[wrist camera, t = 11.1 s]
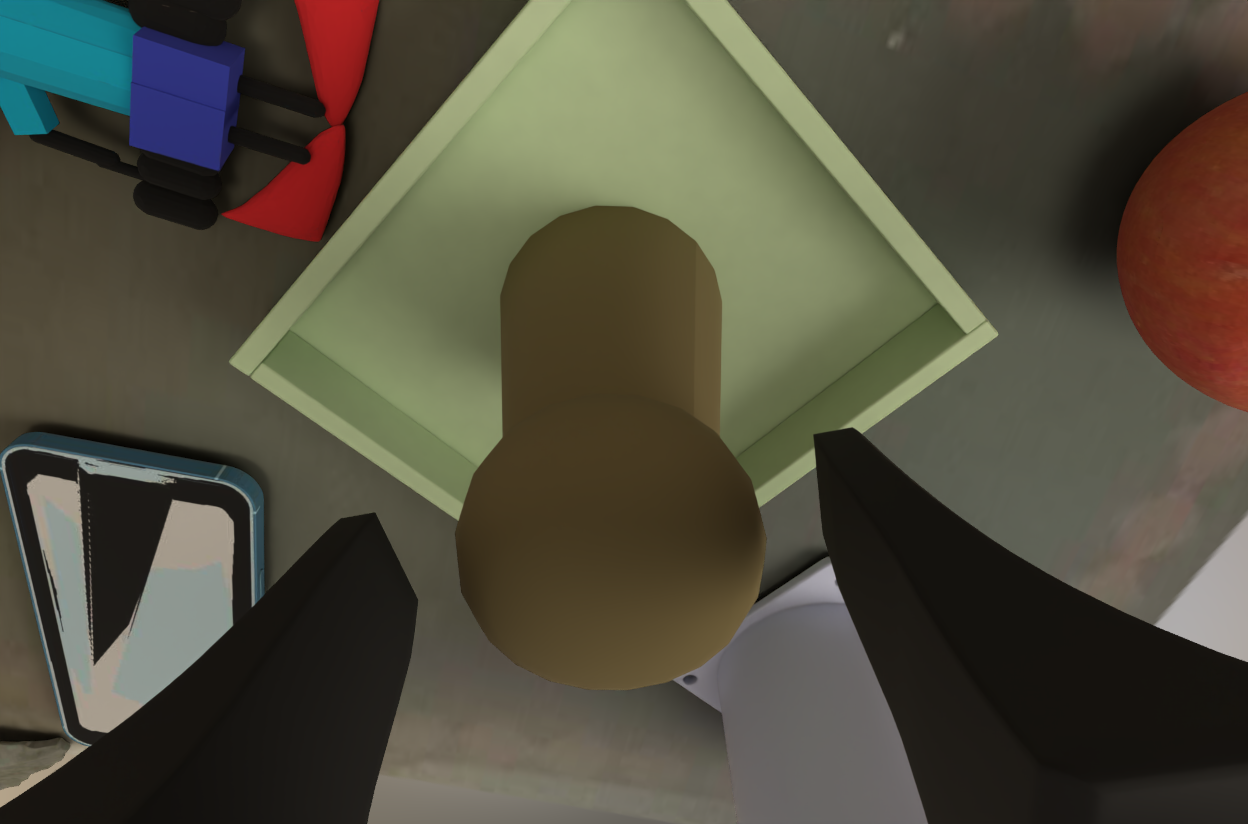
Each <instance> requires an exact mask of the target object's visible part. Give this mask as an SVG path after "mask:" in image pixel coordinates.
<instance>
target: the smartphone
mask: <svg viewBox="0 0 1248 824" xmlns="http://www.w3.org/2000/svg"><path fill="white" fill-rule="evenodd" d="M0 473H1V477H2V481H3V485H4V489H5V493H6V497H7V501H8V505H9V510H10V514H11V518H12V522H13V526H14V530H15V534H16V538H17V543H18V547H19V551H20V555H21V559H22V563H23V567H24V571H25V576H26V580H27V584H28V588H29V592H30V596H31V600H32V604H33V609H34V613H35V617H36V621H37V625H38V629H39V633H40V637H41V641H42V646H43V650H44V654H45V658H46V662H47V666H48V670H49V674H50V679H51V683H52V687H53V691H54V695H55V699H56V703H57V707H58V712H59V716H60V720H61V724H62V728H63V730H64V732H65V733H66V735H67V736H68V737H70V738H71V739H72V740H74V741H76V742H78V743H80V744H82V745H85V746H91V745H92V744H93V743H95V742H96V741H98V740H99V739H100V738H102V737H103V736H104V735H106V734H107V733H108V732H110V731H111V730H113V729H114V728H115V727H117V726H118V725H119V724H121V723H122V722H123V721H125V720H126V719H127V718H129V717H130V716H131V715H132V714H134V713H135V712H136V711H137V710H139V709H140V708H141V707H142V706H144V705H145V704H146V703H147V702H148V701H150V700H151V699H152V698H153V697H154V696H156V695H157V694H158V693H159V692H161V691H162V690H163V689H164V688H165V687H167V686H168V685H169V684H170V683H171V682H173V681H174V680H175V679H176V678H177V677H178V676H179V675H181V674H182V673H183V672H184V671H185V670H186V669H187V668H189V667H190V666H191V665H192V664H193V663H194V662H195V661H196V660H197V659H199V658H200V657H201V656H202V655H203V654H204V653H205V652H206V651H207V650H208V649H209V648H210V647H211V646H212V645H213V644H214V643H215V642H216V641H217V640H219V639H220V638H221V637H222V636H223V635H224V634H225V633H226V632H227V631H228V630H229V629H230V628H231V627H232V626H233V625H234V624H235V623H236V622H237V621H238V620H239V619H241V618H242V617H243V616H244V615H245V614H246V613H247V612H248V611H249V610H250V609H251V608H252V607H253V606H254V605H255V604H256V603H257V602H258V601H259V600H260V599H261V598H262V597H263V596H264V497H263V492H262V490H261V488H260V486H259V484H258V483H257V482H256V481H255V480H254V479H253V478H252V477H251V476H250V475H248V474H247V473H245V472H243V471H241V470H240V469H237V468H234V467H231V466H227V465H221V464H215V463H210V462H204V461H199V460H193V459H188V458H182V457H177V456H171V455H166V454H160V453H155V452H149V451H144V450H138V449H133V448H127V447H122V446H116V445H111V444H105V443H100V442H94V441H89V440H83V439H77V438H72V437H66V436H61V435H55V434H50V433H44V432H30V433H26V434H23V435H21V436H19V437H18V438H17V439H15V440H14V441H13V442H12V443H11V444H10V445H9V446H8V447H6V448H5V449H4V450H3V451H2V453H1V454H0Z"/></svg>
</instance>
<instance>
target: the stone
mask: <svg viewBox="0 0 1248 824" xmlns="http://www.w3.org/2000/svg"><path fill="white" fill-rule="evenodd" d="M69 748H70V743H69V742H66V741H65V740H64V739H63V738H55V739H51V740H43V741H20V742H7V741H0V790H2V789H4V788H8V787H14V786H19V785H20V783H21V782H22V781H24V780H26V779H28V777H29V776H30V775H31V774H33V773H35V772H38V771H41V770H44V769H48V768H50V767H51V766H53V765H54V764H55V763H56V762H59V761H61V760H62V759H63V758H64V756H65V752H67V751H68V750H69Z"/></svg>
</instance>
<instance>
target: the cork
mask: <svg viewBox="0 0 1248 824" xmlns="http://www.w3.org/2000/svg"><path fill="white" fill-rule="evenodd" d="M500 318H501V377H502V437H503V438H502V439H501V440H500V441H499V442H498V443H497V445H496V446H495V447H494V448H493V449H492V451H491V452H490V453H489V454H488V455H487V457H486V458H485V459H484V461H483V462H482V463H481V464H480V466H479V467H478V468H477V470H476V471H475V472H474V474H473V476H472V479H471V482H470V486H469V489H468V492H467V495H466V498H465V501H464V504H463V507H462V510H461V514H460V517H459V521H458V524H457V528H456V531H455V537H456V547H457V557H458V567H459V576H460V586H461V593H462V595H463V597H464V598H465V600H466V602H467V604H468V606H469V607H470V609H471V611H472V613H473V615H474V617H475V618H476V620H477V622H478V624H479V625H480V627H481V629H482V630H483V632H484V633H485V635H486V636H487V638H488V640H489V641H490V642H491V643H492V644H493V645H494V646H496V647H497V648H498V649H499V650H500V651H501V652H502V653H503V654H504V655H506V656H507V657H508V658H509V659H510V660H511V661H512V662H513V663H515V664H516V665H518V666H520V667H522V668H524V669H526V670H528V671H530V672H532V673H534V674H536V675H538V676H540V677H542V678H544V679H546V680H548V681H552V682H556V683H561V684H565V685H570V686H574V687H578V688H583V689H587V690H631V689H636V688H641V687H646V686H651V685H656V684H661V683H666V682H668V681H671V680H673V679H675V678H677V677H679V676H682V675H684V674H686V673H688V672H691V671H693V670H695V669H697V668H699V667H701V666H703V665H704V664H705V663H706V662H708V661H709V660H710V659H711V658H712V657H714V656H715V655H716V654H717V653H718V652H720V651H721V650H722V649H723V648H725V647H726V646H727V645H728V644H729V643H730V641H731V639H732V638H733V636H734V635H735V633H736V632H737V630H738V628H739V627H740V625H741V624H742V622H743V620H744V619H745V617H746V616H747V614H748V612H749V611H750V609H751V608H752V606H753V604H754V603H755V601H756V600H757V598H758V595H759V589H760V583H761V578H762V572H763V566H764V560H765V550H766V540H767V538H766V534H765V530H764V526H763V522H762V518H761V514H760V510H759V506H758V502H757V498H756V494H755V491H754V487H753V484H752V480H751V478H750V477H749V476H748V474H747V473H746V472H745V470H744V469H743V468H742V466H741V465H740V464H739V462H738V461H737V459H736V458H735V457H734V455H733V454H732V453H731V451H730V450H729V449H728V447H727V446H726V445H725V443H724V442H723V441H722V439H721V438H720V402H721V343H722V299H721V294H720V290H719V286H718V282H717V277H716V273H715V270H714V268H713V266H712V265H711V263H710V262H709V260H708V259H707V257H706V256H705V254H704V253H703V251H702V249H701V248H700V246H699V245H698V243H697V242H696V241H695V240H694V239H693V238H691V237H690V236H689V235H688V234H686V233H685V232H684V231H682V230H681V229H680V228H679V227H677V226H676V225H675V224H674V223H672V222H671V221H670V220H668V219H666V218H663V217H660V216H658V215H655V214H652V213H649V212H646V211H644V210H641V209H638V208H635V207H625V206H592V207H589V208H585V209H582V210H579V211H575V212H572V213H568V214H565V215H561V216H559V217H557V218H556V219H555V220H553V221H552V222H550V223H549V224H547V225H546V226H544V227H543V228H541V229H540V230H539V231H537V232H536V233H534V234H533V235H531V236H530V237H529V238H528V240H527V241H526V243H525V244H524V245H523V247H522V248H521V249H520V251H519V252H518V253H517V255H516V256H515V257H514V259H513V260H512V261H511V263H510V264H509V268H508V271H507V274H506V278H505V281H504V284H503V288H502V291H501V294H500Z"/></svg>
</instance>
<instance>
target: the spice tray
mask: <svg viewBox="0 0 1248 824" xmlns="http://www.w3.org/2000/svg"><path fill="white" fill-rule="evenodd" d="M592 206H625V207H635V208H638V209H641V210H644V211H646V212H649V213H652V214H655V215H658V216H660V217H663V218H666V219H668V220H670V221H671V222H672V223H674V224H675V225H676V226H677V227H679V228H680V229H681V230H682V231H684V232H685V233H686V234H688V235H689V236H690V237H691V238H693V239H694V240H695V241H696V242H697V243H698V245H699V246H700V248H701V249H702V251H703V253H704V254H705V256H706V257H707V259H708V260H709V262H710V263H711V265H712V266H713V268H714V270H715V273H716V277H717V282H718V286H719V290H720V294H721V299H722V343H721V402H720V438H721V439H722V441H723V442H724V443H725V445H726V446H727V447H728V449H729V450H730V451H731V453H732V454H733V455H734V457H735V458H736V459H737V461H738V462H739V464H740V465H741V466H742V468H743V469H744V470H745V472H746V473H747V474H748V476H749V477H750V478H751V480H752V484H753V487H754V491H755V494H756V498H757V502H758V506H759V507H761V506H762V505H764V504H765V503H766V502H768V501H769V500H771V499H772V498H773V497H775V496H776V495H777V494H779V493H780V492H782V491H783V490H784V489H786V488H787V487H789V486H790V485H791V484H793V483H794V482H796V481H797V480H798V479H800V478H801V477H802V476H804V475H805V474H807V473H808V472H809V471H811V470H812V469H814V468H815V467H816V459H815V448H814V438H813V434H817V433H823V432H828V431H834V430H840V429H845V428H851V427H853V428H855V429H856V430H858V431H859V432H860V433H861V434H862V433H863V432H865V431H866V430H868V429H869V428H870V427H872V426H873V425H875V424H876V423H877V422H879V421H880V420H881V419H883V418H884V417H886V416H887V415H888V414H890V413H891V412H893V411H894V410H895V409H897V408H898V407H900V406H901V405H902V404H904V403H905V402H906V401H908V400H909V399H911V398H912V397H913V396H915V395H916V394H918V393H919V392H920V391H922V390H923V389H924V388H926V387H927V386H929V385H930V384H931V383H933V382H934V381H936V380H937V379H938V378H940V377H941V376H942V375H944V374H945V373H947V372H948V371H949V370H951V369H952V368H954V367H955V366H956V365H958V364H959V363H961V362H962V361H963V360H965V359H966V358H967V357H969V356H970V355H972V354H973V353H974V352H976V351H977V350H979V349H980V348H981V347H983V346H984V345H985V344H987V343H988V342H990V341H991V340H992V339H994V338H995V337H997V336H998V332H997V331H996V329H995V328H994V327H993V326H992V324H991V323H990V322H989V321H988V320H987V319H986V317H985V316H984V315H983V313H982V312H981V311H980V310H979V308H978V307H977V306H976V305H975V304H974V302H973V301H972V300H971V299H970V297H969V296H968V295H967V294H966V293H965V291H964V290H963V289H962V288H961V286H960V285H959V284H958V283H957V282H956V280H955V279H954V278H953V277H952V275H951V274H950V273H949V272H948V271H947V269H946V268H945V267H944V266H943V264H942V263H941V262H940V261H939V260H938V258H937V257H936V256H935V255H934V253H933V252H932V251H931V250H930V248H929V247H928V246H927V245H926V244H925V242H924V241H923V240H922V239H921V237H920V236H919V235H918V234H917V233H916V231H915V230H914V229H913V228H912V226H911V225H910V224H909V223H908V222H907V220H906V219H905V218H904V217H903V215H902V214H901V213H900V212H899V211H898V209H897V208H896V207H895V206H894V204H893V203H892V202H891V201H890V200H889V198H888V197H887V196H886V195H885V193H884V192H883V191H882V190H881V189H880V187H879V186H878V185H877V184H876V182H875V181H874V180H873V179H872V177H871V176H870V175H869V174H868V173H867V171H866V170H865V169H864V168H863V166H862V165H861V164H860V163H859V162H858V160H857V159H856V158H855V157H854V155H853V154H852V153H851V152H850V151H849V149H848V148H847V147H846V146H845V144H844V143H843V142H842V141H841V140H840V138H839V137H838V136H837V135H836V133H835V132H834V131H833V130H832V129H831V127H830V126H829V125H828V124H827V122H826V121H825V120H824V119H823V118H822V116H821V115H820V114H819V113H818V111H817V110H816V109H815V108H814V106H813V105H812V104H811V103H810V102H809V100H808V99H807V98H806V97H805V95H804V94H803V93H802V92H801V91H800V89H799V88H798V87H797V86H796V84H795V83H794V82H793V81H792V80H791V78H790V77H789V76H788V75H787V73H786V72H785V71H784V70H783V69H782V67H781V66H780V65H779V64H778V62H777V61H776V60H775V59H774V58H773V56H772V55H771V54H770V53H769V51H768V50H767V49H766V48H765V47H764V45H763V44H762V43H761V42H760V40H759V39H758V38H757V37H756V36H755V34H754V33H753V32H752V31H751V29H750V28H749V27H748V26H747V24H746V23H745V22H744V21H743V20H742V18H741V17H740V16H739V15H738V13H737V12H736V11H735V10H734V9H733V7H732V6H731V5H730V4H729V2H728V1H727V0H529V1H528V2H527V3H526V5H525V6H524V7H523V8H522V9H521V11H520V12H519V13H518V14H517V15H516V17H515V18H514V19H513V20H512V21H511V23H510V24H509V25H508V26H507V27H506V29H505V30H504V31H503V32H502V33H501V35H500V36H499V37H498V38H497V39H496V41H495V42H494V43H493V44H492V45H491V47H490V48H489V49H488V50H487V51H486V53H485V54H484V55H483V56H482V57H481V59H480V60H479V61H478V62H477V63H476V65H475V66H474V67H473V68H472V69H471V71H470V72H469V73H468V74H467V75H466V77H465V78H464V79H463V80H462V81H461V83H460V84H459V85H458V86H457V87H456V89H455V90H454V91H453V92H452V93H451V95H450V96H449V97H448V98H447V99H446V101H445V102H444V103H443V104H442V105H441V107H440V108H439V109H438V110H437V111H436V113H435V114H434V115H433V116H432V117H431V119H430V120H429V121H428V122H427V123H426V125H425V126H424V127H423V128H422V129H421V131H420V132H419V133H418V134H417V135H416V137H415V138H414V139H413V140H412V141H411V143H410V144H409V145H408V146H407V147H406V149H405V150H404V151H403V152H402V153H401V155H400V156H399V157H398V158H397V159H396V161H395V162H394V163H393V164H392V165H391V167H390V168H389V169H388V170H387V172H386V173H385V174H384V175H383V176H382V178H381V179H380V180H379V181H378V182H377V184H376V185H375V186H374V187H373V188H372V190H371V191H370V192H369V193H368V194H367V196H366V197H365V198H364V199H363V200H362V202H361V203H360V204H359V205H358V206H357V208H356V209H355V210H354V211H353V212H352V214H351V215H350V216H349V217H348V218H347V220H346V221H345V222H344V223H343V224H342V226H341V227H340V228H339V229H338V230H337V232H336V233H335V234H334V235H333V236H332V238H331V239H330V240H329V241H328V242H327V244H326V245H325V246H324V247H323V248H322V250H321V251H320V252H319V253H318V254H317V256H316V257H315V258H314V259H313V260H312V262H311V263H310V264H309V265H308V266H307V268H306V269H305V270H304V271H303V272H302V274H301V275H300V276H299V277H298V278H297V280H296V281H295V282H294V283H293V284H292V286H291V287H290V288H289V289H288V290H287V292H286V293H285V294H284V295H283V296H282V298H281V299H280V300H279V301H278V302H277V304H276V305H275V306H274V307H273V308H272V310H271V311H270V312H269V313H268V314H267V316H266V317H265V318H264V319H263V320H262V322H261V323H260V324H259V325H258V326H257V328H256V329H255V330H254V331H253V332H252V334H251V335H250V336H249V337H248V338H247V340H246V341H245V342H244V343H243V344H242V346H241V347H240V348H239V349H238V350H237V352H236V353H235V354H234V355H233V356H232V358H231V359H230V361H229V363H230V364H231V365H233V366H234V367H235V368H237V369H238V370H240V371H241V372H243V373H244V374H246V375H251V376H250V377H251V379H253V380H254V381H256V382H257V383H259V384H260V385H262V386H263V387H264V388H266V389H267V390H269V391H270V392H272V393H273V394H275V395H276V396H278V397H279V398H280V399H282V400H283V401H285V402H286V403H288V404H289V405H291V406H292V407H293V408H295V409H296V410H298V411H299V412H301V413H302V414H304V415H305V416H307V417H308V418H309V419H311V420H312V421H314V422H315V423H317V424H318V425H320V426H321V427H323V428H324V429H325V430H327V431H328V432H330V433H331V434H333V435H334V436H336V437H337V438H338V439H340V440H341V441H343V442H344V443H346V444H347V445H349V446H350V447H352V448H353V449H354V450H356V451H357V452H359V453H360V454H362V455H363V456H365V457H366V458H368V459H369V460H370V461H372V462H373V463H375V464H376V465H378V466H379V467H381V468H382V469H384V470H385V471H386V472H388V473H389V474H391V475H392V476H394V477H395V478H397V479H398V480H399V481H401V482H402V483H404V484H405V485H407V486H408V487H410V488H411V489H413V490H414V491H415V492H417V493H418V494H420V495H421V496H423V497H424V498H426V499H427V500H429V501H430V502H431V503H433V504H434V505H436V506H437V507H439V508H440V509H442V510H443V511H445V512H446V513H447V514H449V515H450V516H452V517H453V518H455V519H456V520H458V521H459V517H460V514H461V510H462V507H463V504H464V501H465V498H466V495H467V492H468V489H469V486H470V482H471V479H472V476H473V474H474V472H475V471H476V470H477V468H478V467H479V466H480V464H481V463H482V462H483V461H484V459H485V458H486V457H487V455H488V454H489V453H490V452H491V451H492V449H493V448H494V447H495V446H496V445H497V443H498V442H499V441H500V440H501V439H502V438H503V437H502V377H501V318H500V294H501V291H502V288H503V284H504V281H505V278H506V274H507V271H508V268H509V264H510V263H511V261H512V260H513V259H514V257H515V256H516V255H517V253H518V252H519V251H520V249H521V248H522V247H523V245H524V244H525V243H526V241H527V240H528V238H529V237H530V236H531V235H533V234H534V233H536V232H537V231H539V230H540V229H541V228H543V227H544V226H546V225H547V224H549V223H550V222H552V221H553V220H555V219H556V218H557V217H559V216H561V215H565V214H568V213H572V212H575V211H579V210H582V209H585V208H589V207H592Z"/></svg>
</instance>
